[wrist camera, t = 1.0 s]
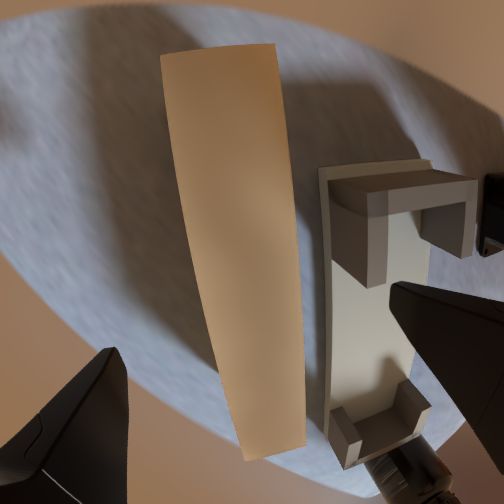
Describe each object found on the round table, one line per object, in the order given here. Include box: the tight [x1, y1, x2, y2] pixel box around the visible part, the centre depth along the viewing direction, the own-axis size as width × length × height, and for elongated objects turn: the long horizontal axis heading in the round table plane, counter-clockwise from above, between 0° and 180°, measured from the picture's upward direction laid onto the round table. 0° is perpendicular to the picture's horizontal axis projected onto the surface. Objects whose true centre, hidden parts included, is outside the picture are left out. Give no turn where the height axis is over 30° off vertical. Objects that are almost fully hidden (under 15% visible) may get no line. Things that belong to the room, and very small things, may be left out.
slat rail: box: [318, 159, 478, 470], centre depth 17 cm, size 7×21×4 cm, turn 7°
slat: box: [160, 44, 306, 461], centre depth 13 cm, size 3×16×6 cm, turn 7°
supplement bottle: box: [364, 434, 461, 504], centre depth 21 cm, size 7×7×12 cm
